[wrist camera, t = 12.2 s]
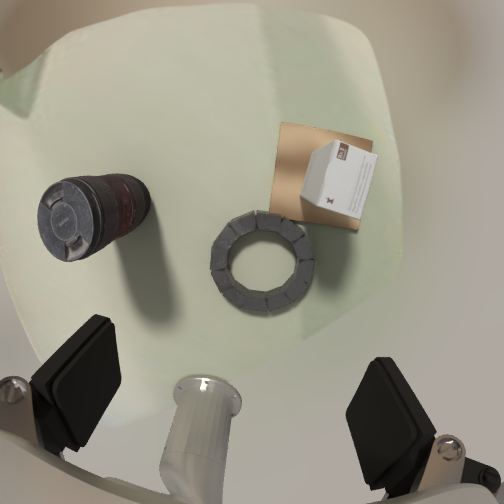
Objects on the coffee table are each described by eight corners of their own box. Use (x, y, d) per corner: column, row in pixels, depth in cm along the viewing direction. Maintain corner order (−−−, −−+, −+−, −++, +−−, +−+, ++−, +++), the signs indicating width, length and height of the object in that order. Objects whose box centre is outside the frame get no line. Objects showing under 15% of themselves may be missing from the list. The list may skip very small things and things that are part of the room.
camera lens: (166, 209, 35) (109, 238, 21) (124, 239, 36) (61, 278, 22) (137, 159, 33) (68, 160, 19) (97, 192, 34) (25, 211, 20)
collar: (300, 308, 38) (302, 315, 37) (209, 297, 38) (207, 303, 36) (318, 219, 35) (322, 222, 33) (218, 205, 34) (215, 207, 33)
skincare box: (330, 205, 33) (363, 225, 22) (296, 195, 33) (315, 210, 22) (343, 159, 32) (383, 157, 20) (309, 148, 31) (335, 138, 20)
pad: (356, 229, 35) (358, 230, 34) (268, 215, 35) (268, 216, 34) (370, 141, 31) (372, 140, 31) (281, 122, 31) (281, 121, 30)
